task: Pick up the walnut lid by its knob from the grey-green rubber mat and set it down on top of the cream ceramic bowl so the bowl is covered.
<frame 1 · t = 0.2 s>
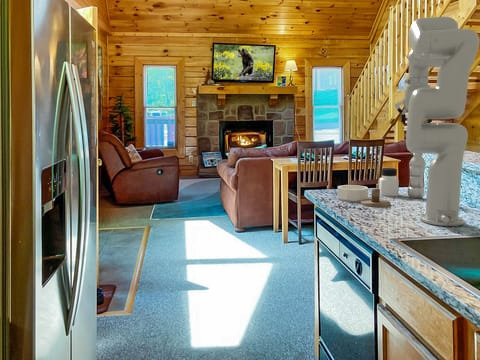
hand: (415, 124, 169), 31 cm above the worktop, tool pointing down, fingers open, 9 cm apart
medicine bottle: (388, 195, 177), on the worktop
lid: (375, 204, 156), resting on mat
mat: (375, 205, 156), on the worktop
plastic bottle: (415, 198, 169), on the worktop
bowl: (352, 199, 169), on the worktop
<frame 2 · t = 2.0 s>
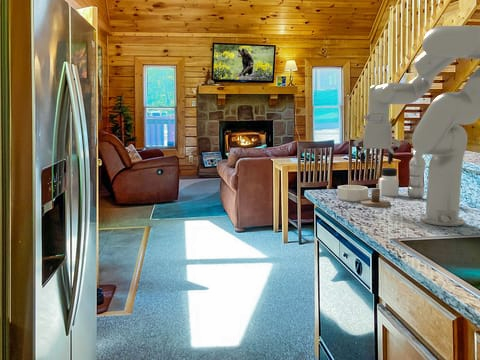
hand: (376, 163, 154), 16 cm above the worktop, tool pointing down, fingers open, 9 cm apart
nothing on the worktop moved.
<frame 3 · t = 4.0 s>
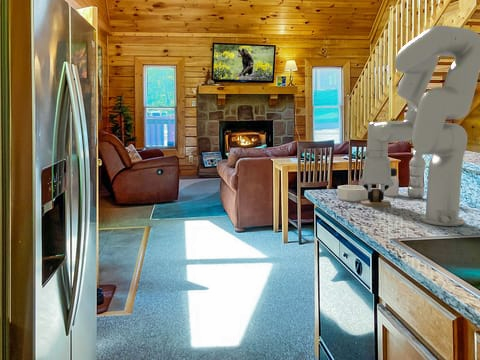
hand: (375, 201, 156), 2 cm above the worktop, tool pointing down, fingers closed on lid, 3 cm apart
lid: (375, 204, 156), resting on mat, touching gripper
everything else where it was.
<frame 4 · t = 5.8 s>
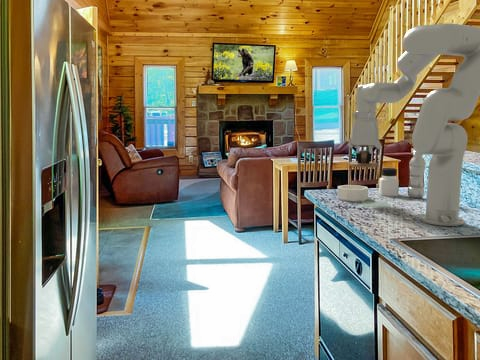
hand: (363, 162, 161), 16 cm above the worktop, tool pointing down, fingers closed on lid, 3 cm apart
lid: (363, 165, 161), point 15 cm above the worktop, touching gripper
everything else where it was.
when the fingers open (7 cm above the worktop, at t = 7.9 s): lid drops 1 cm, resting on bowl.
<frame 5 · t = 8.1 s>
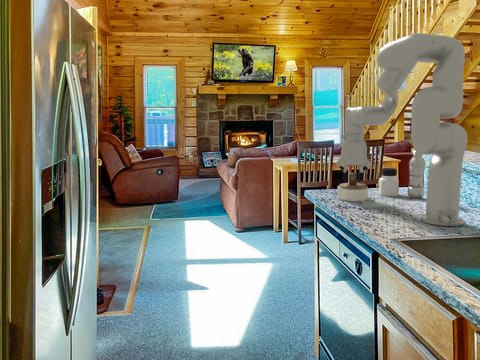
hand: (352, 181, 168), 8 cm above the worktop, tool pointing down, fingers open, 4 cm apart
lid: (352, 187, 168), point 5 cm above the worktop, touching bowl
everything else where it was.
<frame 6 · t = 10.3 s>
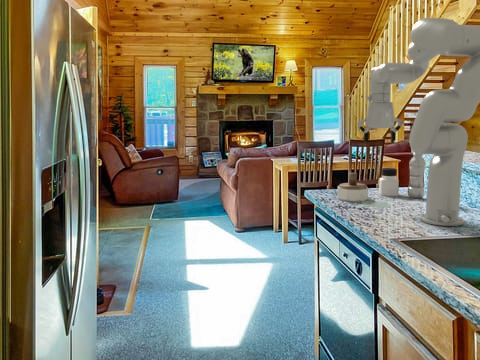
hand: (379, 143, 160), 24 cm above the worktop, tool pointing down, fingers open, 9 cm apart
nothing on the worktop moved.
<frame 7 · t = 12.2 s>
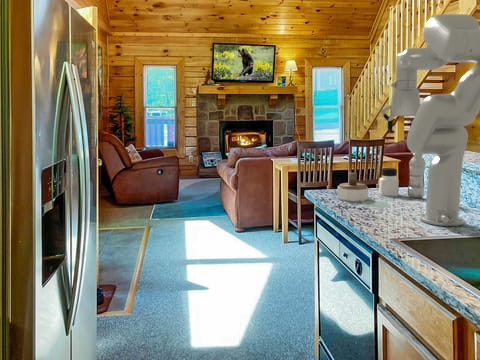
hand: (403, 131, 155), 28 cm above the worktop, tool pointing down, fingers open, 9 cm apart
nothing on the worktop moved.
at the end: lid 0.1 cm off-centre on the bowl, point 5.0 cm above the bowl's base; lid tilted 0°; the gripper is holding nothing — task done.
